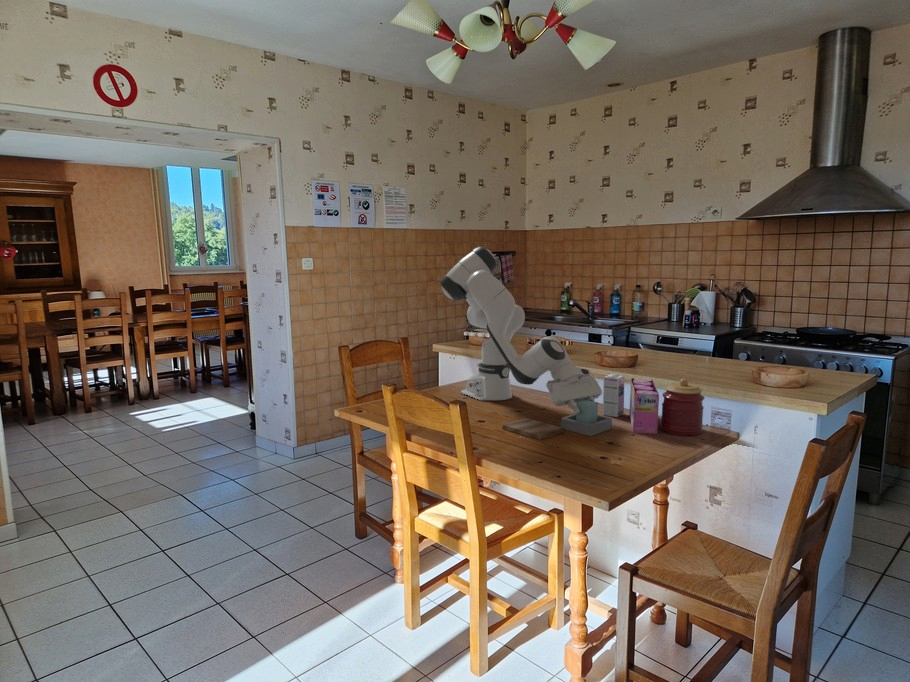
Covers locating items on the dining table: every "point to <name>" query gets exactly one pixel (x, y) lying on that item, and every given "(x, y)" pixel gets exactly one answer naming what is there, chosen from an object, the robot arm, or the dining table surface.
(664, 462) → the dining table surface
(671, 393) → the canister
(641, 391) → the gum box
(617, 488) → the dining table surface
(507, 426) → the walnut board
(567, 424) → the parts bin
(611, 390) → the syrup box
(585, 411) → the teal block
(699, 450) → the dining table surface
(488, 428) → the dining table surface
